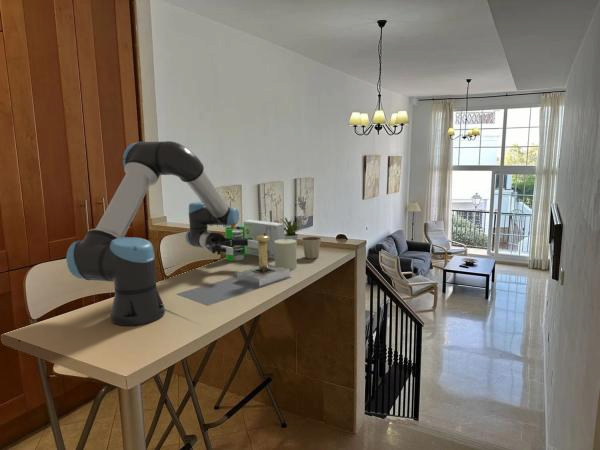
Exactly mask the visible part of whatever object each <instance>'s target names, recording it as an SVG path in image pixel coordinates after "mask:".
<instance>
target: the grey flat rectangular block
mask: <svg viewBox="0 0 600 450" xmlns="http://www.w3.org/2000/svg"><path fill="white" fill-rule="evenodd" d="M236 276H237V280H238V281H240V282H243V283H247V284H250V285H254V286H257V287H261V286H264V285H267V284H270V283H273V282H276V281H279V280H282V279H285V278H288V277H291V270H290V269H287V268H282V267H278V266H275V264H274V265H273V264H269V263H268V272H265V273H262V272H260V271H259V266H257V267H254V268H251V269H247V270H244V271H240V272H237V274H236Z"/></svg>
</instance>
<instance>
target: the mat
mask: <svg viewBox="0 0 600 450" xmlns="http://www.w3.org/2000/svg"><path fill="white" fill-rule="evenodd" d="M291 278H293V277H292V276H290V277H288V278H285V279H282V280H279V281H276V282H273V283H270V284H267V285H264V286H261V287H257V286H254V285H250V284H247V283H243V282H240V281H238V280H237V275H235V276H233V277H230V278H226V279H222V280H219V281H216V282H212V283H210V284H209V283H208V284H206V285H201V286H198V287H195V288H191V289H188V290H184V291H182V292H179V293H176V295H178V296H180V297H183V298H185V299H189V300H190V301H193V302H196V303H200V304H202V305H205V306H212V305H215V304H217V303H220V302H223V301H227V300H229V299H232V298H235V297H238V296H241V295H244V294H246V293H247V294H248V293H251V292H253V291H256V290H259V289H262V288H265V287H268V286H271V285H275V284H277V283H280V282H282V281H286V280H288V279H291Z"/></svg>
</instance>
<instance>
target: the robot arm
mask: <svg viewBox="0 0 600 450" xmlns="http://www.w3.org/2000/svg"><path fill="white" fill-rule="evenodd" d="M122 158H123V159H122V165H123V169H124V173H125V175H124V177H123V178H122V181H121V183H120V184H119V185H118V187H117V190H116V191H115V192H114V194H113V197H112V198H111V200H110V202H109V203H108V205H107V207H106V209H105V212H104V213H103V215H102V217H101V218H100V220H99V222H98V224H97V226H96V227H95V228H92V229H90V230H88V231H87V232H86V234H85V237H84V238H83V239H82V240H80V239H79V240H77V241H74V242H72V243H71V244H70V246H69V247H68V248H67V252H66V263H67V268H68V271H69V272H70V274H71V275H72V276H74V277H75V278H77V279H82V280H86V281H99V282H113V284H114V297H113V302H112V306H111V311H110V321H111V322H112V323H113V324H115V325H118V326H124V327H125V326H127V327H128V326H129V327H132V326H139V325H140V326H141V325H145V324H148V323H149V324H150V323H152V322H155V321H157V320H159V319H161V318H162V317H163V316H164V315H165V311H166V310H165V304H164V302H163V300H162V298H161V296H160V293H159V291H158V288H157V275H156V261H155V257H156V255H155V252H154V246H153V244H152V242H151V241H149V240H147V239H145V238H142V237H135V236H132V237H128V236H126V235H127V232H128V230H129V228H130V226H131V224H132V222H133V220H134V218H135V216H136V214H137V212H138V210H139V208H140V206H141V204H142V202H143V200H144V199H145V196H146V194H147V192H148V190H149V189H150V186H155V184H157V182H158V181H159V179H160V176H170V175H172V176H176V177H178V178H179V179H180V181H182V182H183V183H186V184H187V185H188V186H189V187H190V189H191V190H192V191H193V193H194V194H195V195H196V196H197V198H198V199H199V200H200V201H194V202H190V203H189V204H188V219H189V220H188V221H189V230H187V232H186V234H185V241H186V243H187V244H188V245H190V246H192V247H194V248H201V249H205V250H208V251H210V252H211V253H212V254H217V255H221V253H222V254H225V255H226V254H229V255H233V248H232V247H234V246H248V247H253V248H258V241H254V240H253V239H252V238H250V237H249V238H234V237H231V238H226V237H225V236H224V235H223V234H222V233H219V232H213V231H209V230H208V226H224V227H225V226H227V227H231V226H232V225H235V226H237V224H238V222H239V220H240V213H239V209H238V208H236V207H229V205H228V204H227V202H226V201H225V200H224V198H223V197H222V195H221V194H220V192H219V191H218V189H217V188H216V186H215V184H213V182H212V181H211V179H210V178H209V177H208V175H207V173H206V172H205V167H204V164H203V163H202V161H201V160H200V158H199V157H197V155H196V154H195V153H193V151H191V150H190V149H188V148H187V147H186V146H185V145H182V144H180V143H179V142H176V141H170V140H167V141H165V140H164V141H138V142H133V143H130V145H128V146H127V147H126V148H125V150H124V152H123V155H122ZM231 243H232V245H231ZM258 249H259V248H258Z"/></svg>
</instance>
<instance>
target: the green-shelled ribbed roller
mask: <svg viewBox="0 0 600 450" xmlns="http://www.w3.org/2000/svg"><path fill="white" fill-rule="evenodd" d="M224 233H225V236H224V237H225V238H231V237H234V238H245V227H244V226H239V225H238V226H237V225H232V226H227V227H225V228H224ZM231 245H232V243H231ZM232 248H233V255H229V254H225V258H226V259H225V260H227V261H229V262H234V261H241V260H244V259H245V258H246V253H245V246H234V247H232Z"/></svg>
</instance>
